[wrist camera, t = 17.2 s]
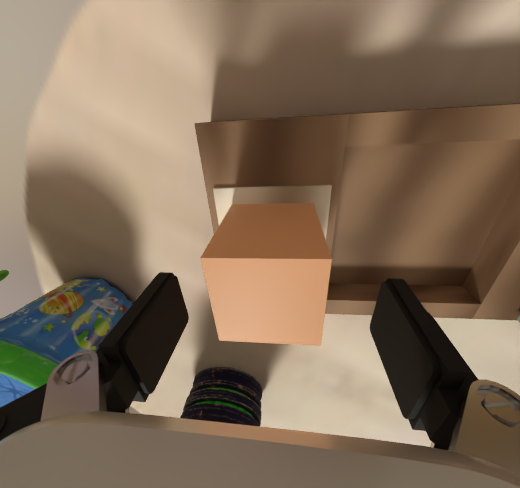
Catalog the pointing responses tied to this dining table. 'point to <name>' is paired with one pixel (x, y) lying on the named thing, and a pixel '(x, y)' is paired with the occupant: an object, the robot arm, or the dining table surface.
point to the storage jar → (224, 397)
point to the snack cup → (55, 332)
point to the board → (389, 199)
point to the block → (268, 274)
